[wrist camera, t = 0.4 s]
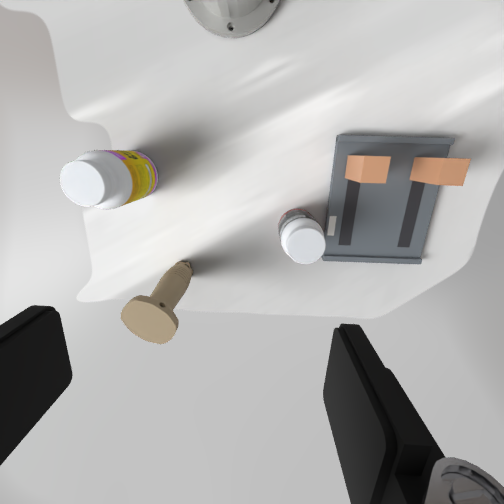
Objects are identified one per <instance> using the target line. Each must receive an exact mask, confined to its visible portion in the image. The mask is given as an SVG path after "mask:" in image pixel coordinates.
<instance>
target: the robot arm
mask: <svg viewBox="0 0 504 504" xmlns="http://www.w3.org/2000/svg"><path fill="white" fill-rule="evenodd" d="M269 1H270V0H192V1H190V0H184V2H185V4H186V6H187V7H188V9H189V11H190V13H191V14H192V15H193V17H194V18H195V19H196V20H197V22H198V23H200V24H201V25H202V26H203V27H204V28H205V29H207V30H208V31H210V32H212V33H214V34H216V35H219V36H222V37H228V38H237V37H243V36H246V35H248V34H251V33H253V32H255V31H256V30H258V29H259V28H260V27H262V26H263V25H264V24H265V23H266V22H267V21H268V20H269V19H270V17H271V16H272V14H273V13H274V11H275V10H276V8H277V6H278V3H279V1H280V0H273V1H274V2H273V3H270V2H269ZM230 28H233V31H230V30H229V29H230ZM71 380H72V370H71V365H70V360H69V355H68V350H67V346H66V341H65V336H64V332H63V327H62V323H61V318H60V314H59V312H57V311H56V310H55V308H54V307H51V306H37V305H34V306H30V307H28V308H27V309H25V310H24V311H22V312H20V313H19V314H17V315H16V316H14V317H13V318H11V319H9V320H8V321H6V322H5V323H3V324H2V325H0V465H1V464H2V463H3V462H4V461H5V460H6V458H7V457H8V456H9V455H10V454H11V452H12V451H13V450H14V449H15V448H16V447H17V445H18V444H19V443H20V442H21V440H23V438H24V437H25V436H26V435H27V434H28V433H29V431H30V430H31V429H32V428H33V427H34V426H35V424H36V423H37V422H38V421H39V420H40V418H41V417H42V416H43V415H44V414H45V413H46V411H47V410H48V409H49V408H50V406H52V404H53V403H54V402H55V401H56V400H57V399H58V397H59V396H60V395H61V394H62V393H63V392H64V390H65V389H66V388H67V387H68V386H69V384H70V382H71ZM323 398H324V403H325V407H326V411H327V415H328V418H329V422H330V426H331V430H332V434H333V437H334V441H335V445H336V448H337V453H338V456H339V460H340V464H341V468H342V471H343V475H344V479H345V483H346V487H347V490H348V494H349V498H350V502H351V504H504V487H503V486H502V485H501V484H500V483H499V482H498V481H497V480H495V479H494V478H493V477H492V476H491V475H489V474H488V473H487V472H485V471H484V470H482V469H480V468H479V467H478V466H476V465H473V464H471V463H469V462H467V461H465V460H462V459H458V458H454V457H450V458H449V457H448V458H446V457H445V456H444V454H443V453H442V451H441V449H440V448H439V446H438V445H437V443H436V442H435V440H434V438H433V437H432V435H431V434H430V432H429V430H428V429H427V427H426V425H425V424H424V422H423V421H422V419H421V417H420V416H419V414H418V413H417V411H416V409H415V408H414V406H413V405H412V403H411V401H410V400H409V398H408V397H407V395H406V393H405V392H404V390H403V388H402V387H401V385H400V384H399V382H398V381H397V379H396V377H395V376H394V374H393V373H392V372H391V370H390V369H388V368H385V366H384V365H383V363H382V361H381V360H380V358H379V356H378V355H377V353H376V351H375V350H374V348H373V346H372V345H371V344H370V341H369V340H368V338H367V336H366V335H365V333H364V331H363V330H362V328H361V327H360V325H355V324H341V325H340V327H339V328H335V329H334V332H333V338H332V344H331V350H330V355H329V361H328V366H327V372H326V378H325V383H324V390H323Z"/></svg>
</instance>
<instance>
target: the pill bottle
mask: <svg viewBox="0 0 504 504" xmlns="http://www.w3.org/2000/svg"><path fill="white" fill-rule="evenodd" d="M278 232H279V236H280V241H281V245H282V247H283V249H284V251H285V252H286V254H287V255H289V256H290V257H291V258H292V259H293V260H294V261H295V262H297V263H300V264H311V263H314V262H316V261H317V260H318V259H320V258H321V257H322V255H323V253H324V251H325V247H326V243H325V239H324V232H323V230H322V228H321V226H320V225H319V224H318V222H317V221H316V220H315V219H314V217H313V216H312V215H311V214H310V213H309V212H307V211H305V210H303V209H292V210H289V211H287V212H286V213H285V214H284V215H283V216H282V217H281V218H280V220H279V223H278Z"/></svg>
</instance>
